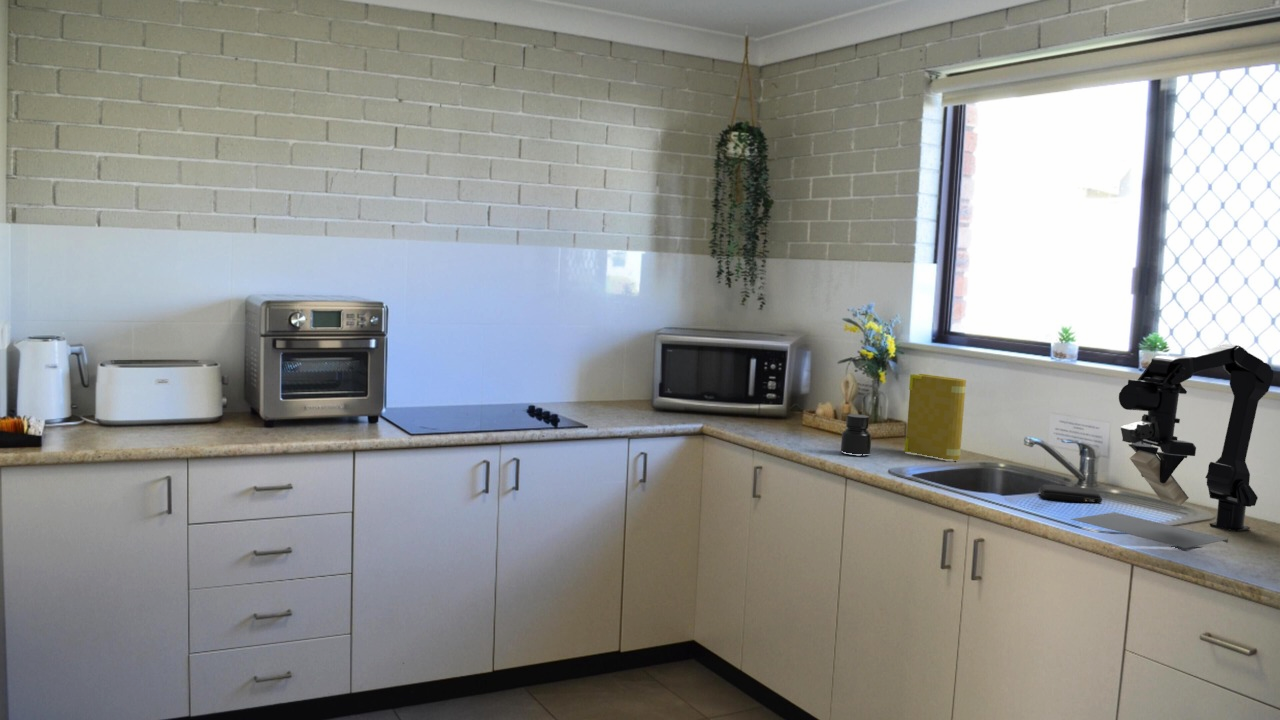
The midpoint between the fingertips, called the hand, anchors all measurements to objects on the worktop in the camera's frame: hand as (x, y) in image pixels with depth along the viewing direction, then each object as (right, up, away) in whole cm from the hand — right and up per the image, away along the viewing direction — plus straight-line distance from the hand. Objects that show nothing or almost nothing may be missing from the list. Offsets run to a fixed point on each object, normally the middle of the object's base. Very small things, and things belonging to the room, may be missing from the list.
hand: (1153, 480), depth 238 cm
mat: (-1, -12, +1) cm, 12 cm away
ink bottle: (-50, -2, +85) cm, 99 cm away
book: (-25, -3, +87) cm, 91 cm away
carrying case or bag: (-6, -9, +33) cm, 35 cm away
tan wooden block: (+5, -5, +1) cm, 7 cm away
